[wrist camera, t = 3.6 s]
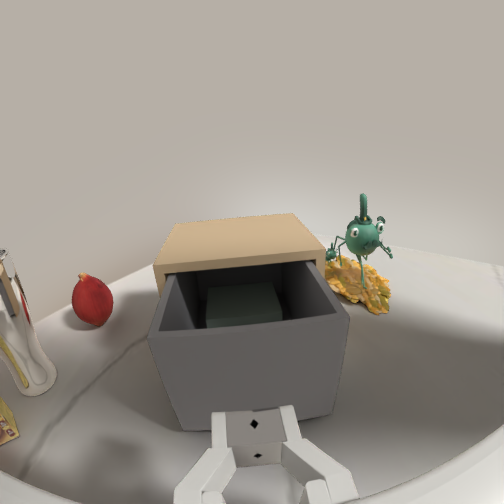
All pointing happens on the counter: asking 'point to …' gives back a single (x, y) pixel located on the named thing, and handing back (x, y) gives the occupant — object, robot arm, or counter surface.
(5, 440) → the candy box
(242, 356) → the grey open box
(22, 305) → the beer glass
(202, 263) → the sleeve
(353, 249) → the frog figurine
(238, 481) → the counter surface
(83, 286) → the onion
